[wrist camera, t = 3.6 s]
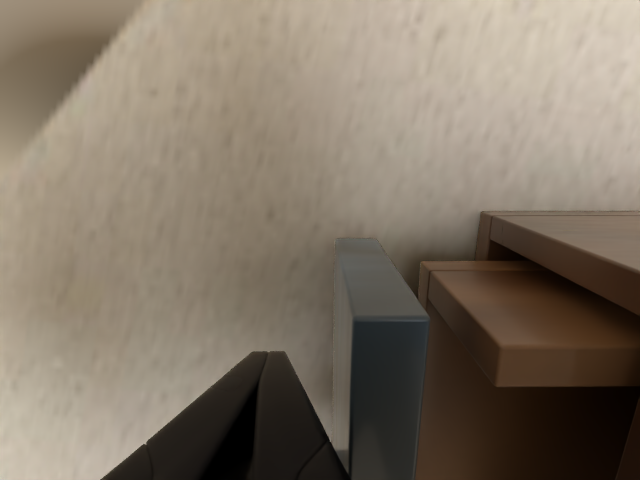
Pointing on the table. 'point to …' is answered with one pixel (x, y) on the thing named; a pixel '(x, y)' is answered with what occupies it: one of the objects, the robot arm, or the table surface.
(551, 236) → the cabinet
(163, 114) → the table surface
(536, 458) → the drawer
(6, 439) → the table surface
